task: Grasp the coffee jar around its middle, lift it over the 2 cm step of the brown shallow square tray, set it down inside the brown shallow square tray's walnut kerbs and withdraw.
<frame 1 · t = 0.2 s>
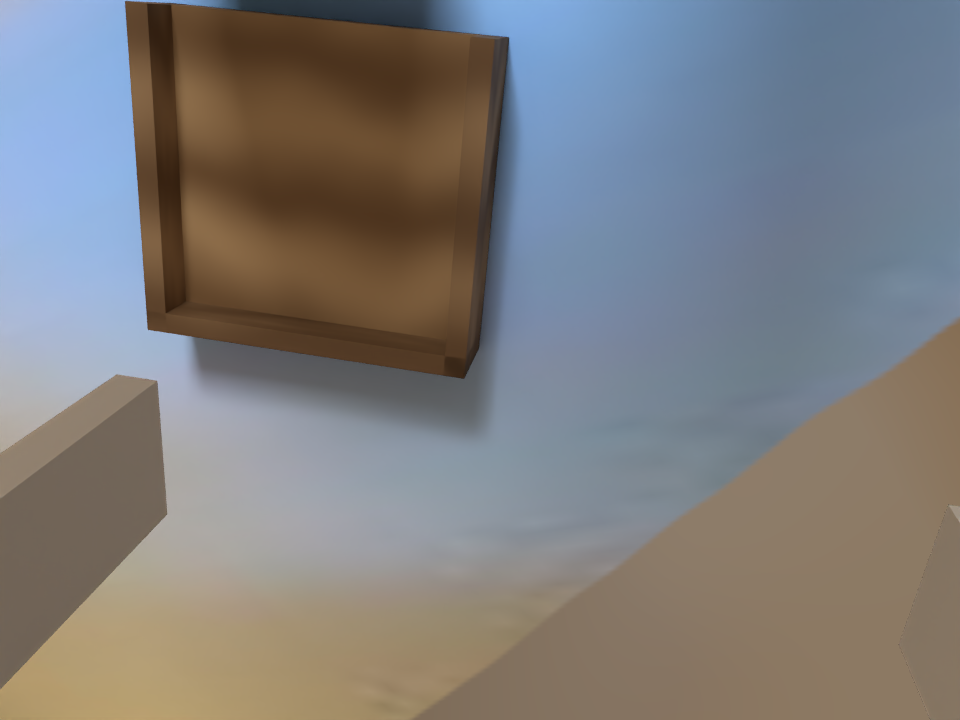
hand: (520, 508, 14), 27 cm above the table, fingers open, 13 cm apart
brown shallow square tray: (332, 183, 41), on the table
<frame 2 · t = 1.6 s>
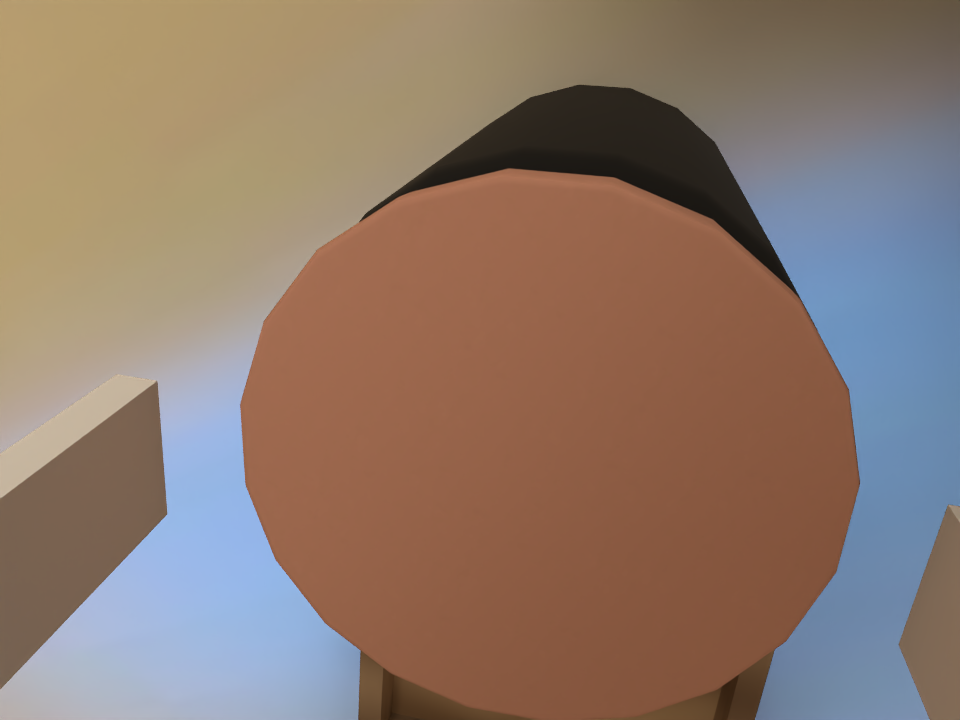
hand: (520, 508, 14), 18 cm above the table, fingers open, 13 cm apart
coffee jar: (590, 232, 31), on the table
brown shallow square tray: (562, 600, 37), on the table
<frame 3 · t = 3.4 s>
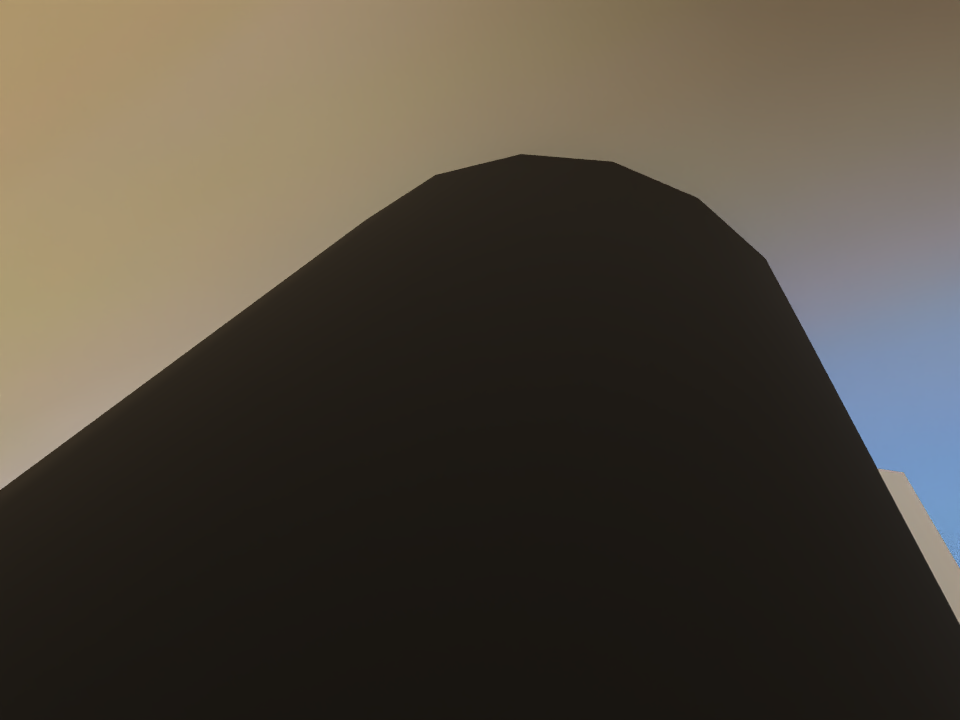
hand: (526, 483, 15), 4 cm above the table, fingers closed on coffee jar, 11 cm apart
coffee jar: (549, 388, 19), on the table, touching gripper
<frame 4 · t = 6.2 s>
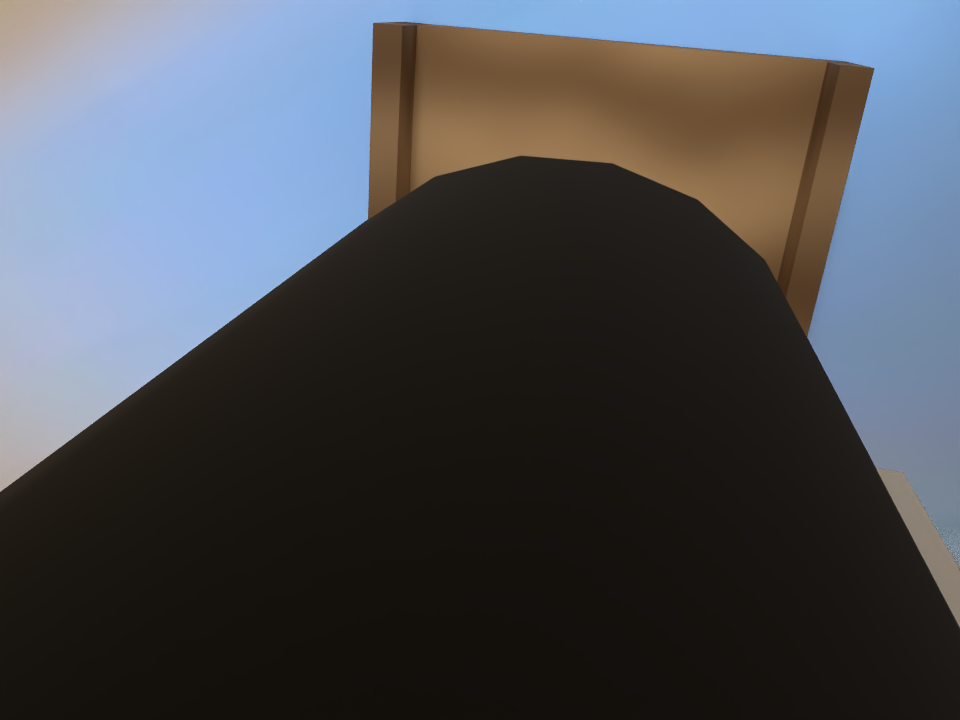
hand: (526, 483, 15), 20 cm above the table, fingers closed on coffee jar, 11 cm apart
coffee jar: (549, 389, 19), point 16 cm above the table, touching gripper
brown shallow square tray: (590, 241, 33), on the table
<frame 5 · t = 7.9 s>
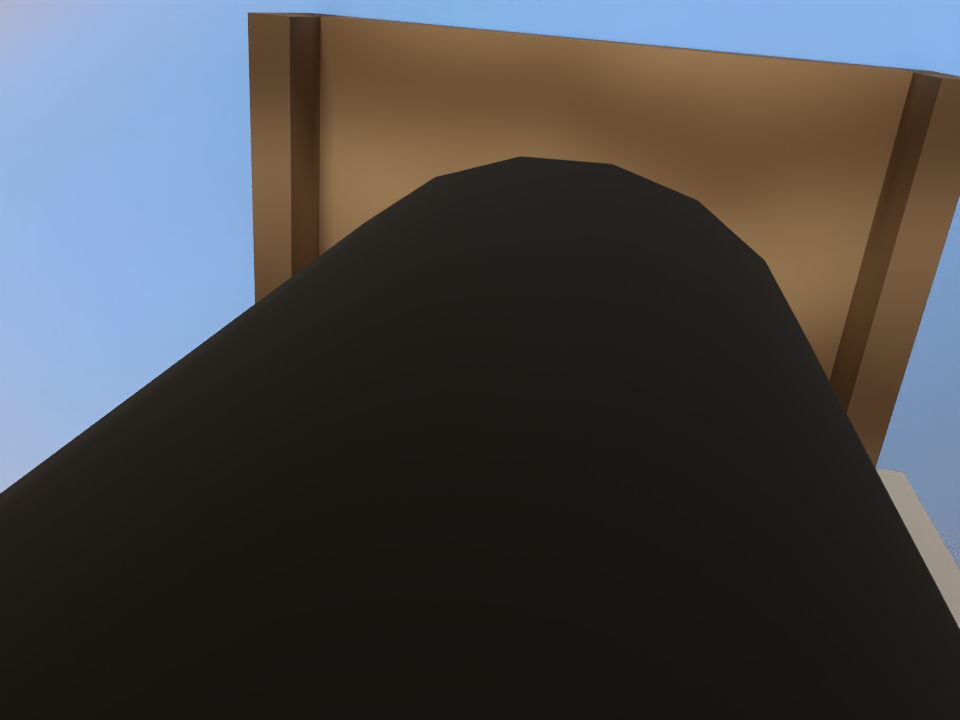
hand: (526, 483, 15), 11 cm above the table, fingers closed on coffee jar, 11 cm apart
coffee jar: (549, 390, 19), point 6 cm above the table, touching gripper
brown shallow square tray: (570, 312, 25), on the table
when the fingers open (7 cm above the table, at t = 9.2 s): coffee jar drops 1 cm, resting on brown shallow square tray.
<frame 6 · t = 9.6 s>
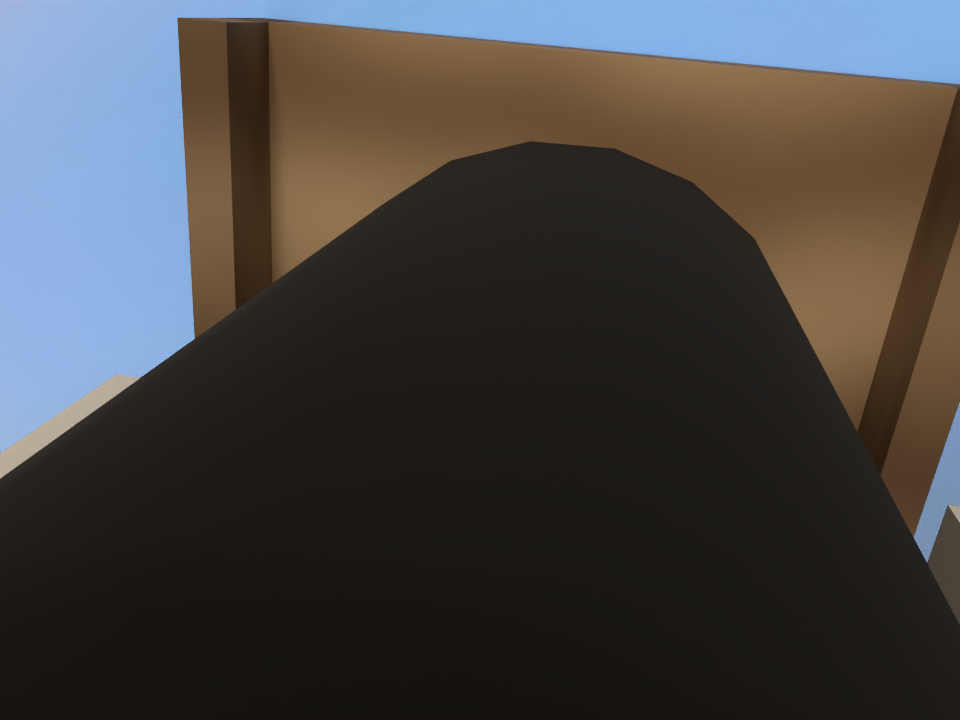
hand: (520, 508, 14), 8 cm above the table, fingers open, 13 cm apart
coffee jar: (553, 362, 20), point 2 cm above the table, touching brown shallow square tray
brown shallow square tray: (559, 356, 22), on the table
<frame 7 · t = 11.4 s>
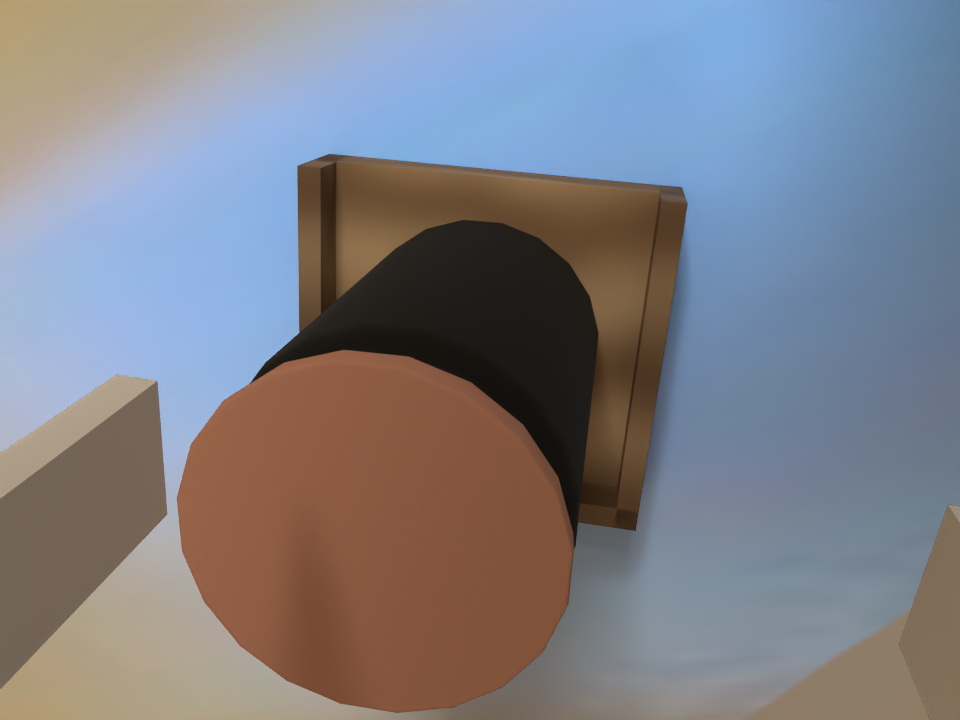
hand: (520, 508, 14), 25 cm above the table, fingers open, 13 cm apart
coffee jar: (482, 328, 38), point 2 cm above the table, touching brown shallow square tray
brown shallow square tray: (488, 327, 40), on the table
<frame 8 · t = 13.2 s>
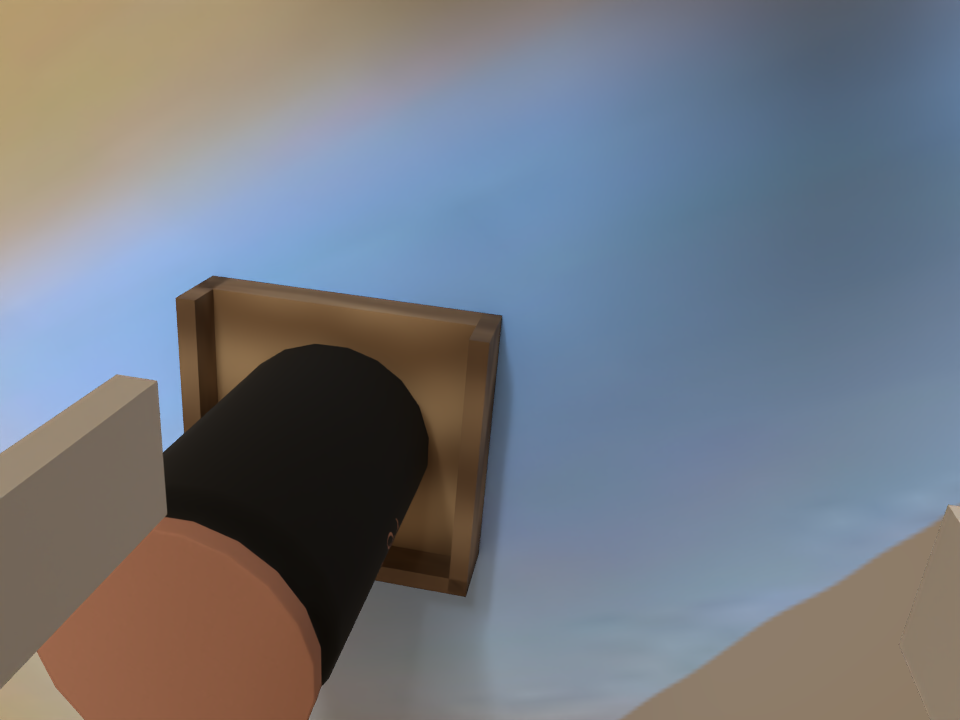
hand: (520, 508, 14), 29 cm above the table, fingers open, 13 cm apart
coffee jar: (340, 425, 46), point 2 cm above the table, touching brown shallow square tray
brown shallow square tray: (350, 420, 47), on the table
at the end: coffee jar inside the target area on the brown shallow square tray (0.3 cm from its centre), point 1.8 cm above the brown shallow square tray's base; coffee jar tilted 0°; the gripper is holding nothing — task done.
